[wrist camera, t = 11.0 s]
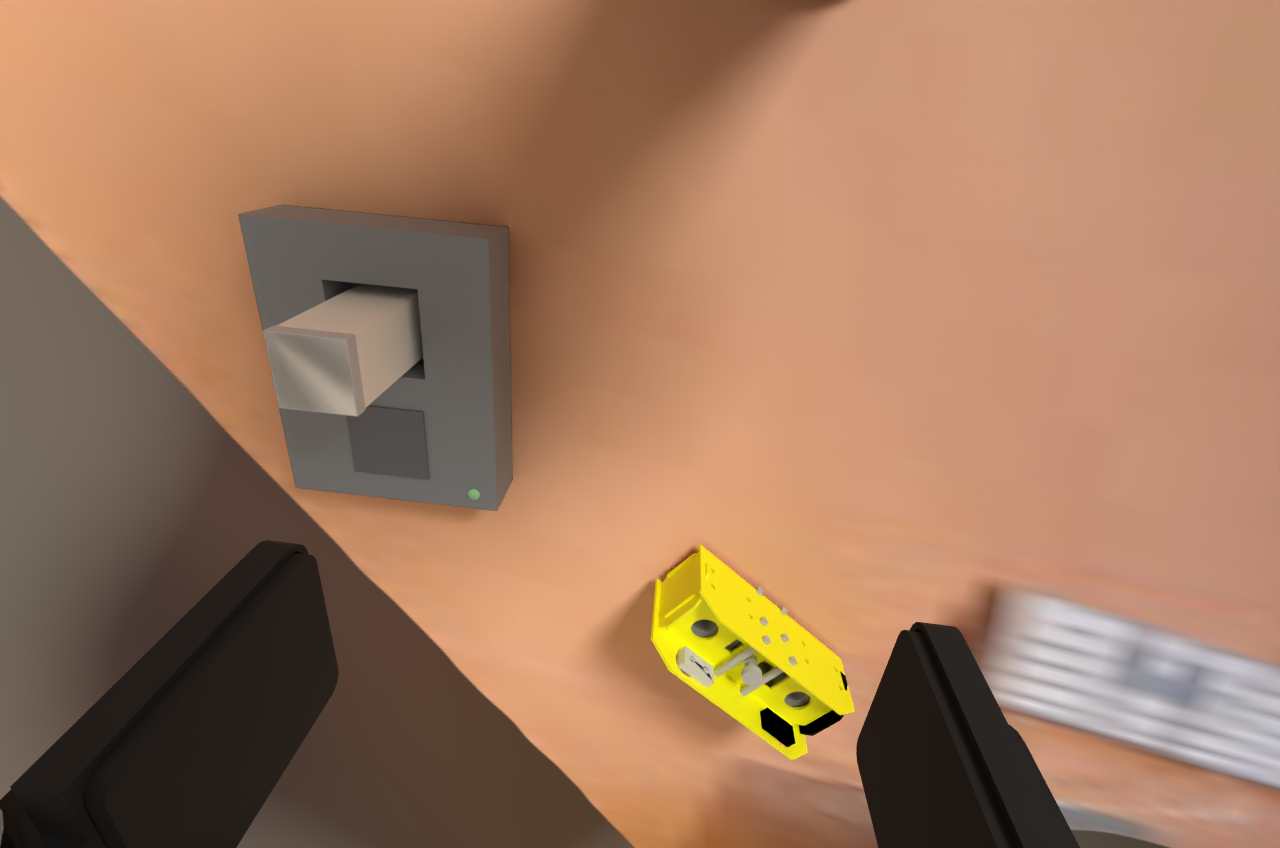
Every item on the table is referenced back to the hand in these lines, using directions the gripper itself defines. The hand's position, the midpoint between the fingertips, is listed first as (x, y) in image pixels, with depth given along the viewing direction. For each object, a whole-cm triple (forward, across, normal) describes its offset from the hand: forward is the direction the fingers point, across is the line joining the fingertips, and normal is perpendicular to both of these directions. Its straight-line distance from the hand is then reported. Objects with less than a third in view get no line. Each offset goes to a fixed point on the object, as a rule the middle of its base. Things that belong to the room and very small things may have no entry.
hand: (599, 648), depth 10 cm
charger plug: (+29, +17, +5) cm, 34 cm away
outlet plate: (+30, +17, +8) cm, 35 cm away
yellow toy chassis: (+30, -9, +27) cm, 42 cm away
